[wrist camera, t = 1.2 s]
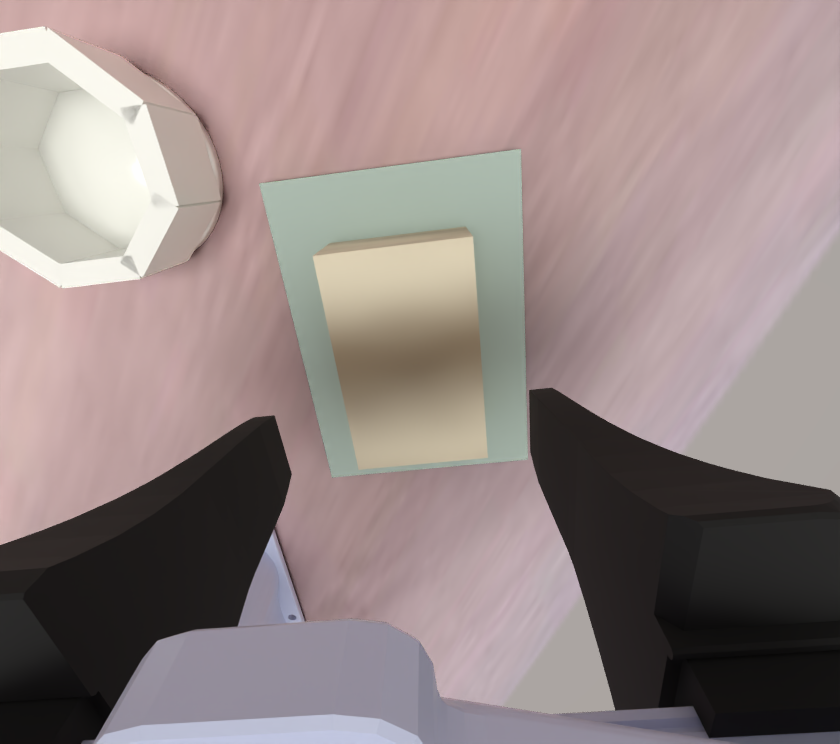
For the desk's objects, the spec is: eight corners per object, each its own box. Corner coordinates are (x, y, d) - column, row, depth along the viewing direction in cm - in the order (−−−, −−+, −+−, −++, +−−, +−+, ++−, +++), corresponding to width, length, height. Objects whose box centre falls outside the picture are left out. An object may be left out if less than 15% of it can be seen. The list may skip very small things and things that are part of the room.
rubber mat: (525, 453, 22) (527, 459, 22) (333, 471, 23) (331, 477, 23) (518, 149, 17) (520, 149, 16) (263, 183, 17) (258, 183, 17)
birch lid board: (479, 421, 21) (488, 457, 18) (366, 432, 21) (358, 469, 19) (465, 226, 17) (473, 236, 15) (329, 242, 18) (312, 255, 15)
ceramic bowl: (244, 252, 18) (200, 271, 15) (86, 271, 19) (5, 295, 15) (188, 51, 16) (117, 15, 12) (3, 79, 16) (-121, 52, 12)
